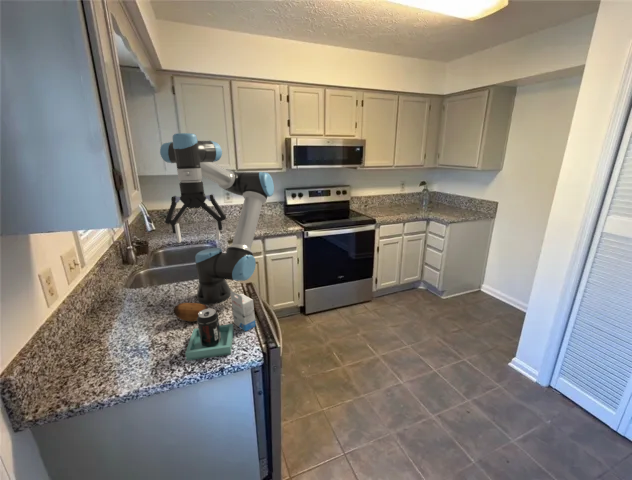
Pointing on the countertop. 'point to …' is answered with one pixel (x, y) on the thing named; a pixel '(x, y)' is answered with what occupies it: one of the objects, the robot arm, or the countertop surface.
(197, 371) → the countertop surface
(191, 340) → the collection tray
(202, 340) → the beverage can
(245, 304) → the ink box
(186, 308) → the potato
